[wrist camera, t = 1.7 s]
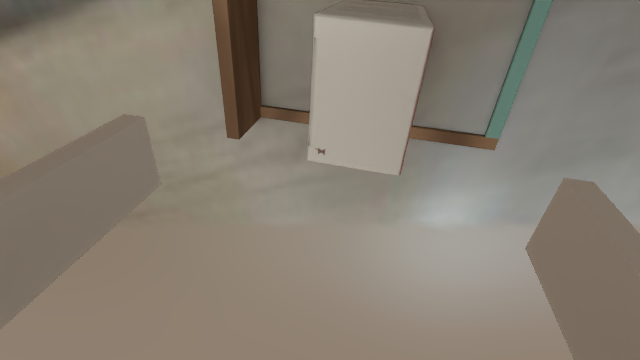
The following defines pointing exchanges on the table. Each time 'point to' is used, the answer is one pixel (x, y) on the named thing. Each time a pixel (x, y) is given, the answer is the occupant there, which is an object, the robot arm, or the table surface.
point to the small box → (366, 83)
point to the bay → (245, 109)
